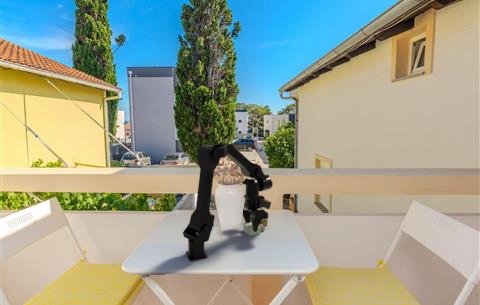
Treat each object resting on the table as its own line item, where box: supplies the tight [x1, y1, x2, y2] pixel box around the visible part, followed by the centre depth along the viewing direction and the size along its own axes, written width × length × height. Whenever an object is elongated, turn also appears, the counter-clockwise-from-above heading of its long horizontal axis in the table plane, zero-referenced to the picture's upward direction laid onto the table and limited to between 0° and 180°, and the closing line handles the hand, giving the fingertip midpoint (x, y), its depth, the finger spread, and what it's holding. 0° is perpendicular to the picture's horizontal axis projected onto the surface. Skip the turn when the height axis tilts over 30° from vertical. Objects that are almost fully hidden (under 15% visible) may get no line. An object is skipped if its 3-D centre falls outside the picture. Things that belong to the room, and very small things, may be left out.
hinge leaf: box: [242, 222, 266, 237], centre depth 124 cm, size 7×8×3 cm
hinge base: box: [250, 218, 269, 227], centre depth 134 cm, size 10×6×3 cm, turn 23°
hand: (251, 228), depth 123 cm, fingers closed on hinge leaf, 7 cm apart
